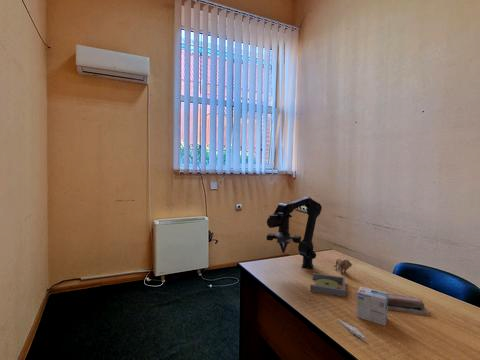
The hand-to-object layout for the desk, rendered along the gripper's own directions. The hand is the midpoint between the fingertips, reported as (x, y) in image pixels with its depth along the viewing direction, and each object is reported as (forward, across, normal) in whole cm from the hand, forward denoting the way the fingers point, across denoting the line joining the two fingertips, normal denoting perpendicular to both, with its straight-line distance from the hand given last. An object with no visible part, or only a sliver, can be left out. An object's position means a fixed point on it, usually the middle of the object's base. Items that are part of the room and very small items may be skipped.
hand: (283, 253), depth 152 cm
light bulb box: (+12, +42, -32) cm, 54 cm away
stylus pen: (+12, +33, -44) cm, 56 cm away
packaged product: (+13, +55, -18) cm, 59 cm away
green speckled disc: (+12, +24, -9) cm, 28 cm away
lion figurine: (+12, +32, +14) cm, 37 cm away
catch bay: (+12, +24, -9) cm, 28 cm away
